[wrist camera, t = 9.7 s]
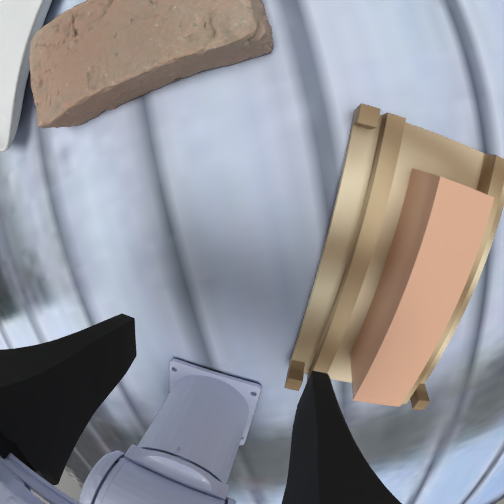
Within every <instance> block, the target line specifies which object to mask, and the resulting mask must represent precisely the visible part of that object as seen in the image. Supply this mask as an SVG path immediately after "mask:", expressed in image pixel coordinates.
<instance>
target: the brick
mask: <svg viewBox="0 0 504 504" xmlns="http://www.w3.org/2000/svg"><path fill="white" fill-rule="evenodd" d="M271 33H272V29H271V26H270V25H269V23H268V20H267V16H266V14H265V9H264V4H263V2H262V1H261V0H87V1H86V2H83V3H80V4H78V5H76V6H74V7H73V8H72V9H70V10H67V11H65V12H64V13H63V14H61V15H59V16H57V17H56V18H55V19H54V20H52V21H51V22H49V23H48V24H46V25H45V26H44V27H42V28H41V29H40V30H39V31H37V32H36V33H35V34H34V36H33V38H32V40H31V45H30V56H29V62H30V74H31V88H32V92H33V97H34V102H35V105H36V109H37V121H38V126H39V127H41V128H51V127H55V128H58V127H71V126H77V125H80V124H84V123H85V122H87V121H89V120H91V119H93V118H95V117H98V116H99V115H100V114H101V113H102V112H103V111H104V110H112V109H115V108H117V107H118V106H119V105H121V104H123V103H126V102H128V101H130V100H132V99H135V98H137V97H139V96H142V95H145V94H147V93H149V92H150V91H152V90H154V89H158V88H161V87H163V86H165V85H167V84H170V83H171V82H174V81H177V80H180V79H183V78H186V77H189V76H192V75H194V74H196V73H199V72H201V71H204V70H209V69H215V68H218V67H221V66H227V65H231V64H235V63H239V62H241V61H244V60H246V59H250V58H255V57H258V56H261V55H264V54H267V53H269V52H271V51H272V46H273V43H272V37H271Z"/></svg>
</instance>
